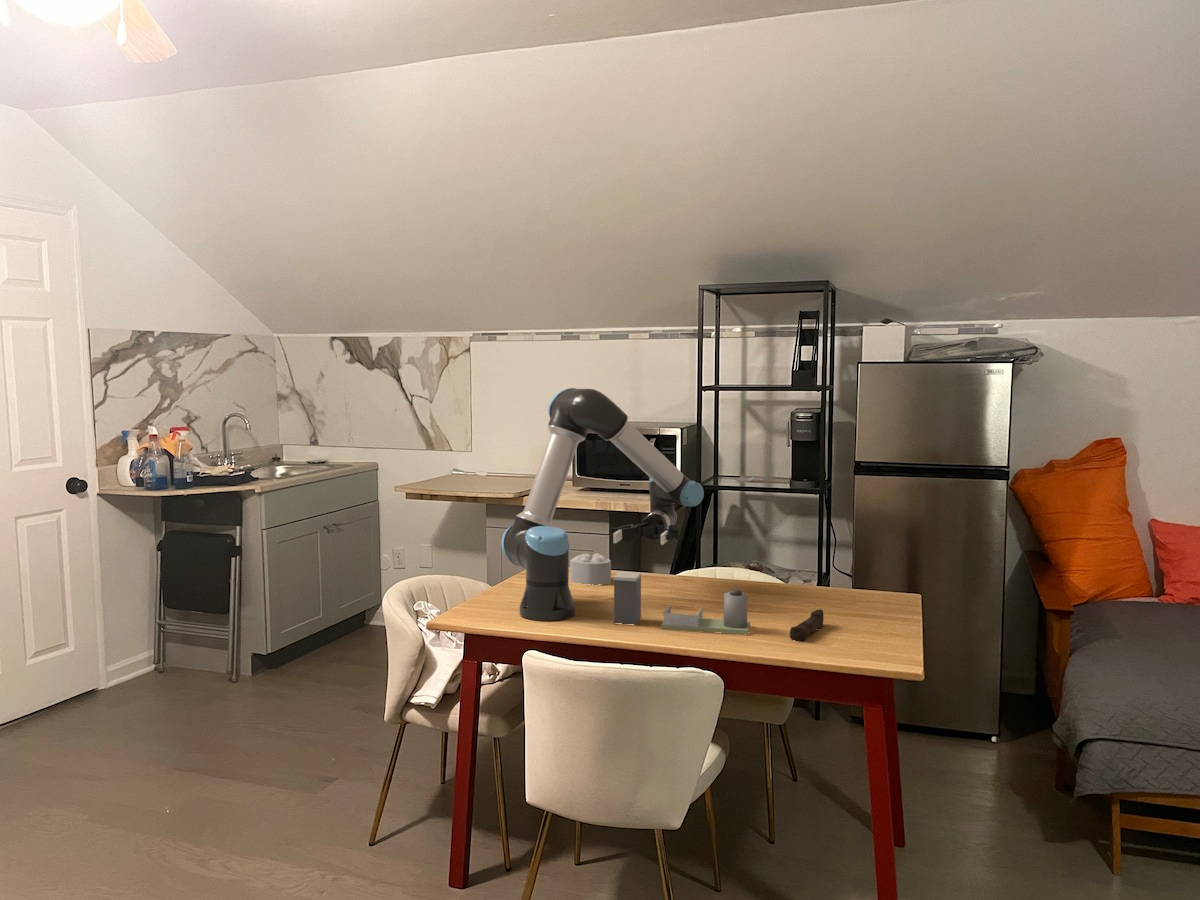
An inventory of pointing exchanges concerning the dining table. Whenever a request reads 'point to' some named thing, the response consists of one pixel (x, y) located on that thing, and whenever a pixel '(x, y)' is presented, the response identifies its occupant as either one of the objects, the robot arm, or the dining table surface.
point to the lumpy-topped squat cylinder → (590, 569)
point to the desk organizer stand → (725, 616)
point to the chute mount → (682, 618)
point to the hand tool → (807, 626)
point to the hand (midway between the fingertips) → (638, 539)
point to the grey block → (627, 598)
